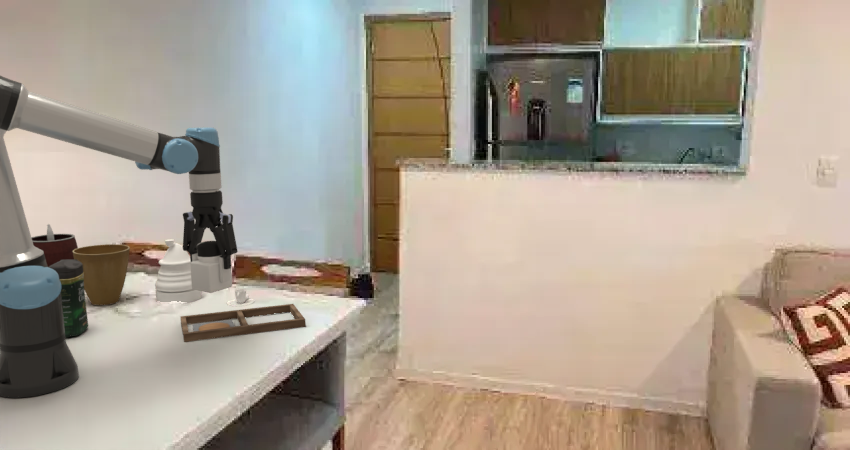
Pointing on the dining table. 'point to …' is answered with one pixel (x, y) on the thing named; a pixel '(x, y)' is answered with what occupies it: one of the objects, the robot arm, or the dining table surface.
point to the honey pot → (175, 276)
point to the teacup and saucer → (240, 297)
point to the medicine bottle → (208, 269)
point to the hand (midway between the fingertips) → (211, 279)
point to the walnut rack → (241, 322)
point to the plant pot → (103, 271)
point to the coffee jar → (72, 296)
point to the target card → (213, 325)
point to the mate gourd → (55, 246)
